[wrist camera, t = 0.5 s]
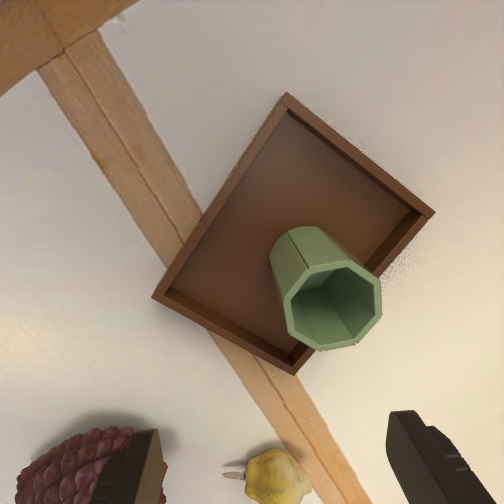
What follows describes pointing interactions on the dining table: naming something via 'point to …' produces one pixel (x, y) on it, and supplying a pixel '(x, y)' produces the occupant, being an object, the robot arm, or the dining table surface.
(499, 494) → the dining table surface
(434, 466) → the robot arm
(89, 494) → the pine cone
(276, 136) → the tray
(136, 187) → the dining table surface
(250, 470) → the fruit
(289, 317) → the cup
